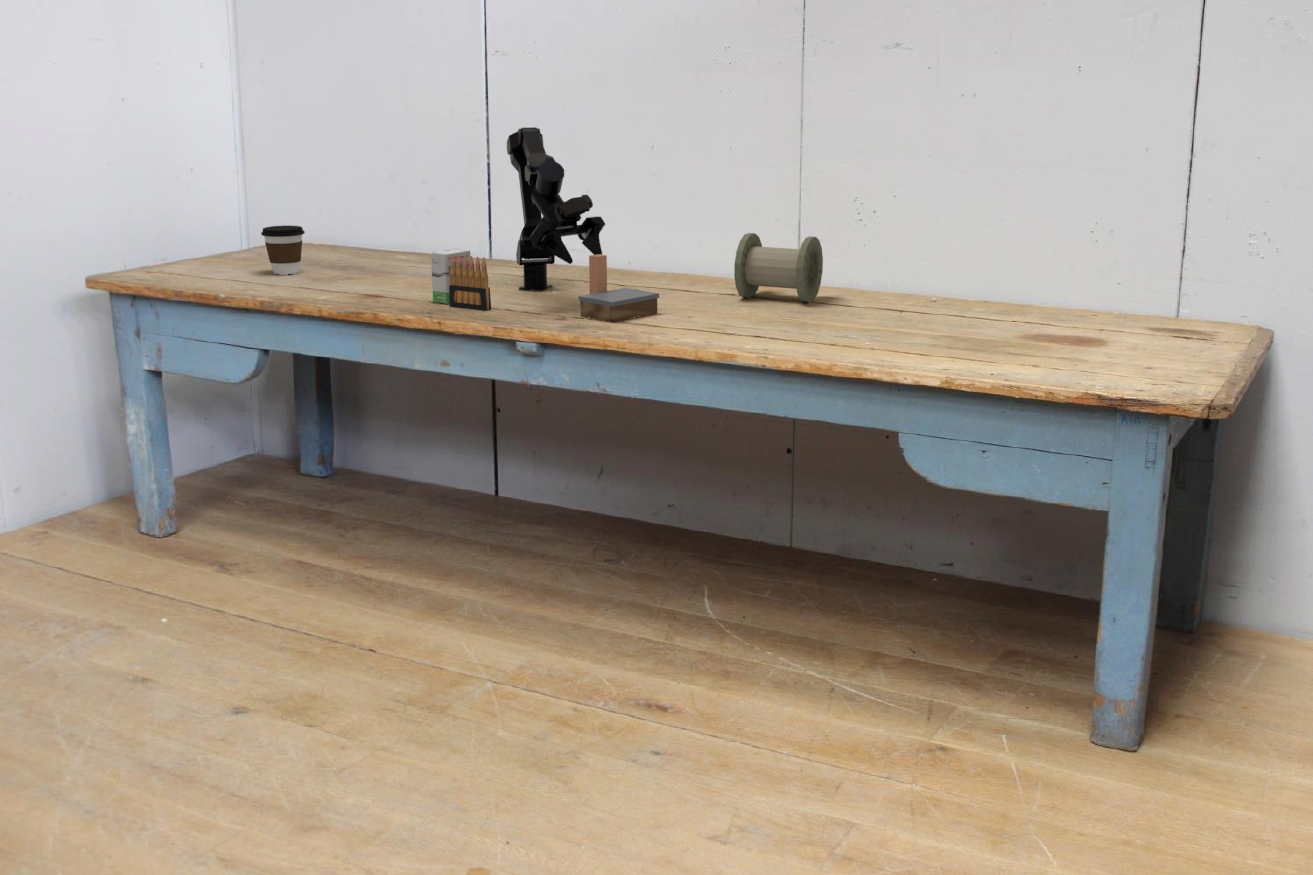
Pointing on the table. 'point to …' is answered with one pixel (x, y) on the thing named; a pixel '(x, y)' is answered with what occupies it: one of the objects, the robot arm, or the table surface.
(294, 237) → the coffee cup
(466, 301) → the ammunition clip
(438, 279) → the ink box
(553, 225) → the robot arm
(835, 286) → the table surface
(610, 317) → the tub
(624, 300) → the lid
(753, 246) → the spool
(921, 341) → the table surface
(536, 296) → the table surface
